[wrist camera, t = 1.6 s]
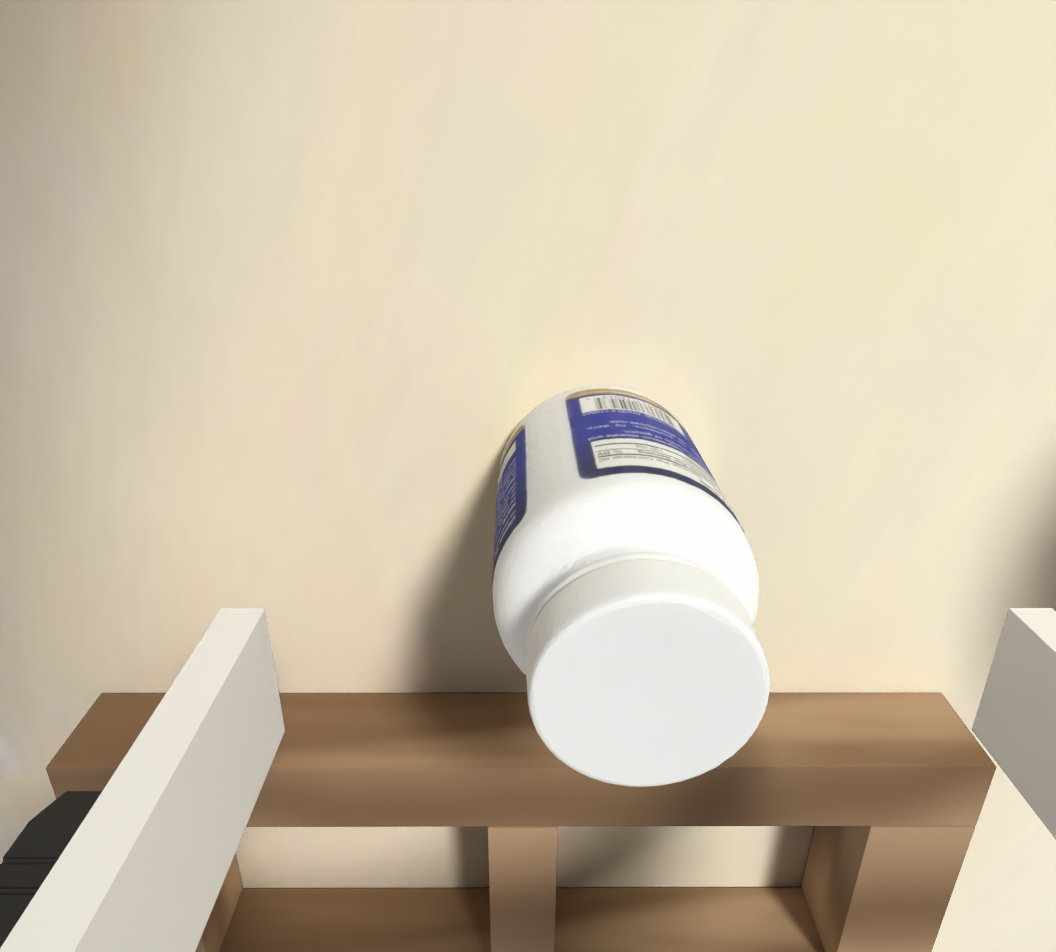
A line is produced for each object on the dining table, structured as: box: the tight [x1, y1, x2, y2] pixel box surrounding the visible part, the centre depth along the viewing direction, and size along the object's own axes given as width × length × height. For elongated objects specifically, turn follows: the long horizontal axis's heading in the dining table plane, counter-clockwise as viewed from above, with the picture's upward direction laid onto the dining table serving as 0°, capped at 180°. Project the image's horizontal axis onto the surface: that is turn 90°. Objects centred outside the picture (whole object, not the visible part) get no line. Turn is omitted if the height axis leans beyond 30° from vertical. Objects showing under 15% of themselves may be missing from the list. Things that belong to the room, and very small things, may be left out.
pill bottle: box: [492, 385, 770, 787], centre depth 16 cm, size 5×5×9 cm
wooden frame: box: [46, 693, 996, 952], centre depth 24 cm, size 11×26×3 cm, turn 90°
